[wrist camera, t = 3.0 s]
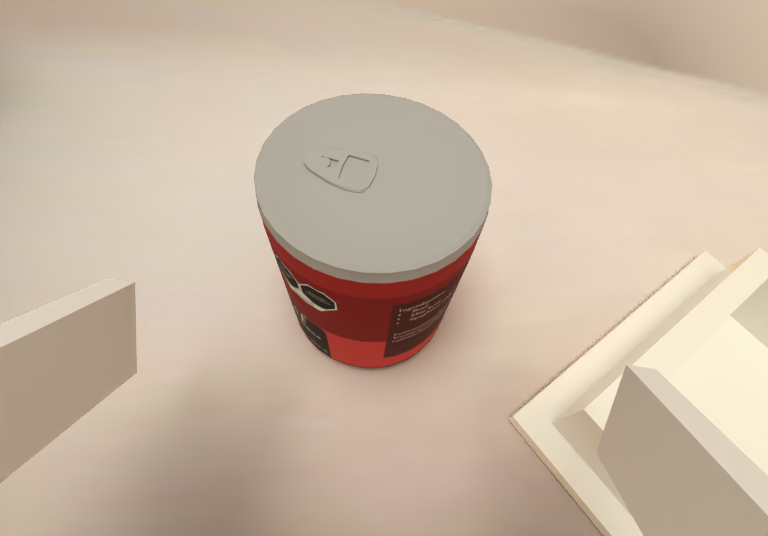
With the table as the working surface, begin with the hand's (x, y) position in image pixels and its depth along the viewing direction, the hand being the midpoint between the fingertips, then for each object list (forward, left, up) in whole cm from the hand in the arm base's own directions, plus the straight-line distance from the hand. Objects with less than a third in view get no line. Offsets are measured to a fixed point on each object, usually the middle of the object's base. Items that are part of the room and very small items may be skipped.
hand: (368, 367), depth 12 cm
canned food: (-5, +4, -11) cm, 13 cm away
